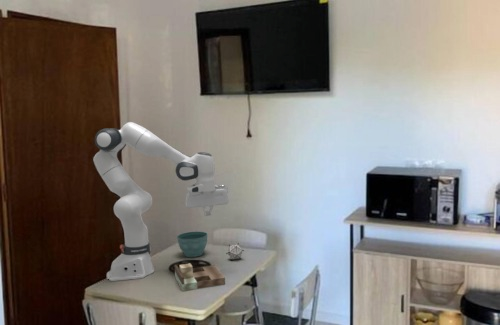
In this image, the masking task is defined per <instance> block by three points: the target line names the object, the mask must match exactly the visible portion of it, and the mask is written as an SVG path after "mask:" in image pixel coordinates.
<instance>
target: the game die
mask: <svg viewBox="0 0 500 325" xmlns="http://www.w3.org/2000/svg"><path fill="white" fill-rule="evenodd" d="M239 244H240V243H239V242H238V243H237V244H228V246H229V247H228V250H227V252H226V253H225V254H226V255H228V256H229V257H230V259H231V260H230V261H231V262H232V261H233V260H237V259H238V260H239V259H240V260H242V258H241V257H242V254H243V252H245V250H244V249H242V247H241V246H240V245H239Z"/></svg>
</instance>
